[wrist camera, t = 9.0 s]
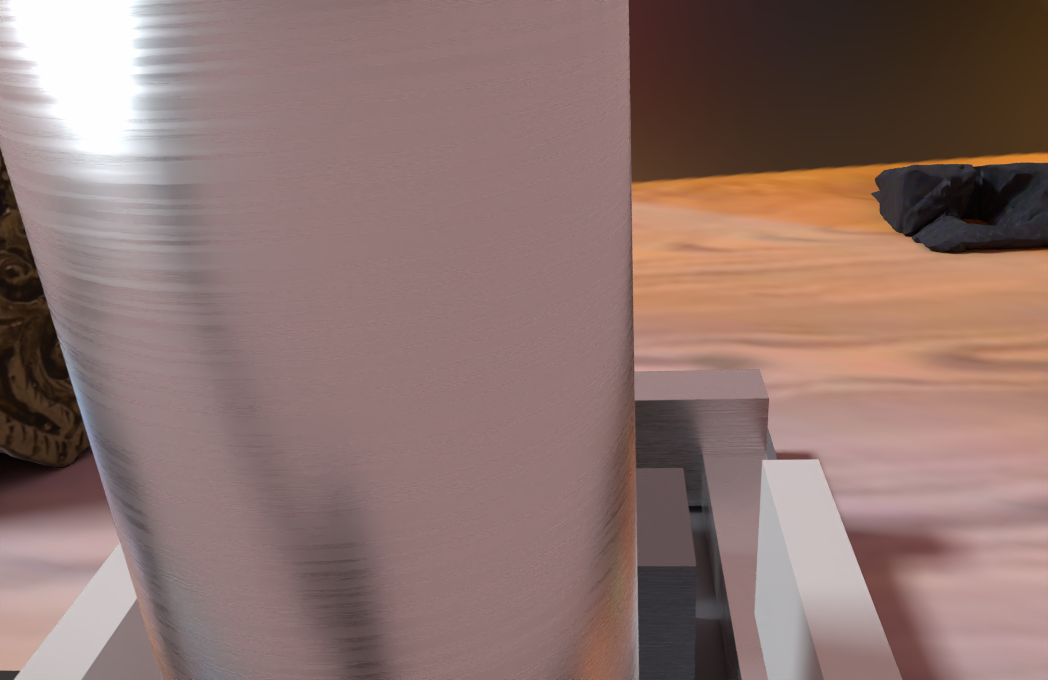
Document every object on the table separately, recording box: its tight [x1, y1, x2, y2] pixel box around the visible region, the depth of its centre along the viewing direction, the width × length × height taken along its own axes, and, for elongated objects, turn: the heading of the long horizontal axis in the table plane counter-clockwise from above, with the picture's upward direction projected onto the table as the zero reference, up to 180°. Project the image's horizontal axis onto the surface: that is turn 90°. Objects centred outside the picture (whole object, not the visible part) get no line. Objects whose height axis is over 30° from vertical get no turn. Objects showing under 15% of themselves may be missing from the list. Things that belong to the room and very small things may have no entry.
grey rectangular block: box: [636, 468, 696, 680], centre depth 24 cm, size 7×4×5 cm, turn 85°
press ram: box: [0, 0, 769, 680], centre depth 17 cm, size 13×24×23 cm, turn 175°
